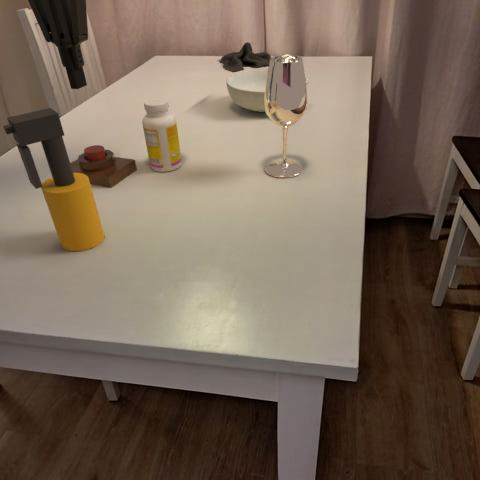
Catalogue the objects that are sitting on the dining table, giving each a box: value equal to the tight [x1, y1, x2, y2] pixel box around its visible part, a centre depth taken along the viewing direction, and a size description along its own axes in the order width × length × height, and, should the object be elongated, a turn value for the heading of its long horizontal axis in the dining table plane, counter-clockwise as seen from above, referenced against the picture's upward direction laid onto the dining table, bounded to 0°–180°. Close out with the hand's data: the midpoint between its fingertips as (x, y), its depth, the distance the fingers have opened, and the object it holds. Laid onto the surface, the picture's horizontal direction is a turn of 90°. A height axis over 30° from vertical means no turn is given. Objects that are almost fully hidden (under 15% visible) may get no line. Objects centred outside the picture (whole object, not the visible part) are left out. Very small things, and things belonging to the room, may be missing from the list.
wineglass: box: [264, 54, 308, 179], centre depth 87 cm, size 8×8×20 cm
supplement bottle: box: [141, 97, 183, 173], centre depth 93 cm, size 7×7×13 cm
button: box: [83, 144, 106, 160], centre depth 93 cm, size 4×4×2 cm
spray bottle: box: [2, 107, 105, 252], centre depth 69 cm, size 9×7×20 cm
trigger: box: [16, 143, 43, 190], centre depth 66 cm, size 1×3×6 cm, turn 36°
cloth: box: [219, 41, 272, 73], centre depth 158 cm, size 22×19×6 cm
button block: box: [70, 148, 138, 189], centre depth 94 cm, size 12×9×4 cm
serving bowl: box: [225, 68, 309, 113], centre depth 121 cm, size 21×21×7 cm
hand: (79, 86), depth 84 cm, fingers closed
